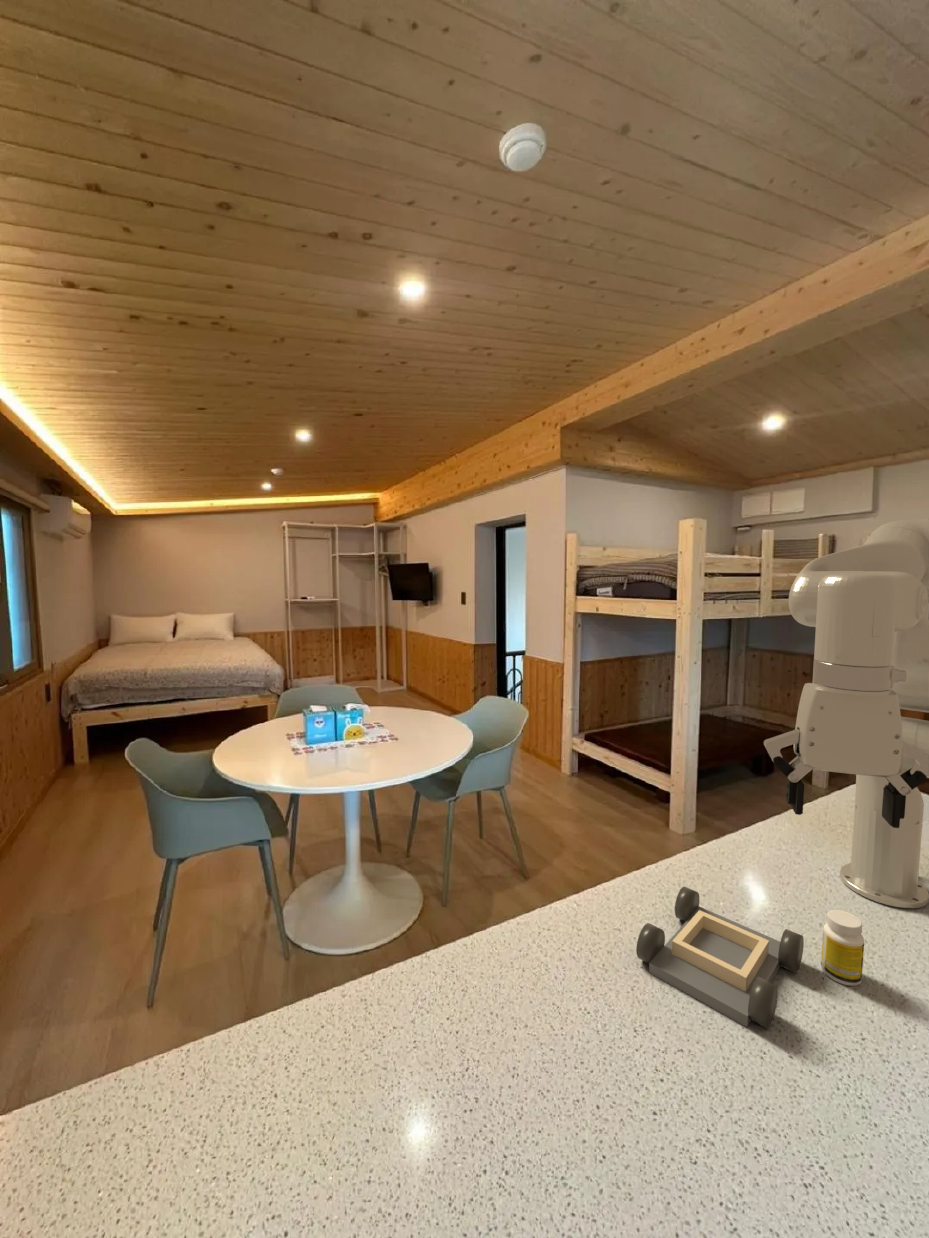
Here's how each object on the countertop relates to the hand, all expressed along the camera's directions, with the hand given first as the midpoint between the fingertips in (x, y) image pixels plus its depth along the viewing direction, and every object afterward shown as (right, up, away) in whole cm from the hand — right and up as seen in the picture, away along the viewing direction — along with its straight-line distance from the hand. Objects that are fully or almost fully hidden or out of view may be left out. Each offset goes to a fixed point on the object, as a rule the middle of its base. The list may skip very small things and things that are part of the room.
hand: (842, 816), depth 64 cm
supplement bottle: (+8, -27, +11) cm, 30 cm away
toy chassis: (-8, -27, +13) cm, 31 cm away
